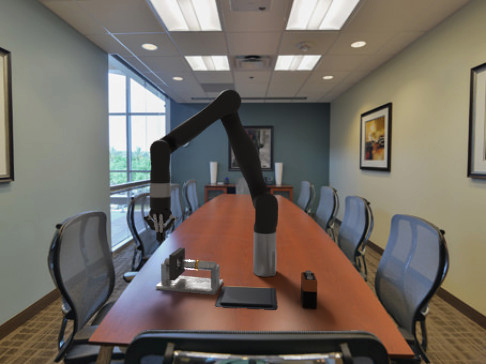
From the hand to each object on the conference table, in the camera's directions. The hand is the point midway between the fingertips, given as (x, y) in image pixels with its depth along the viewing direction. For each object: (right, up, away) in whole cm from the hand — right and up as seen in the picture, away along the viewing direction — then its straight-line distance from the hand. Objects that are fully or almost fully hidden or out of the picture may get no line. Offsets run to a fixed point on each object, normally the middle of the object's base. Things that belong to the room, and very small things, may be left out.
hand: (160, 241), depth 102 cm
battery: (+52, -17, -14) cm, 56 cm away
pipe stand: (+11, -16, -1) cm, 20 cm away
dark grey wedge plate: (+6, -12, 0) cm, 14 cm away
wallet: (+32, -18, -10) cm, 38 cm away
